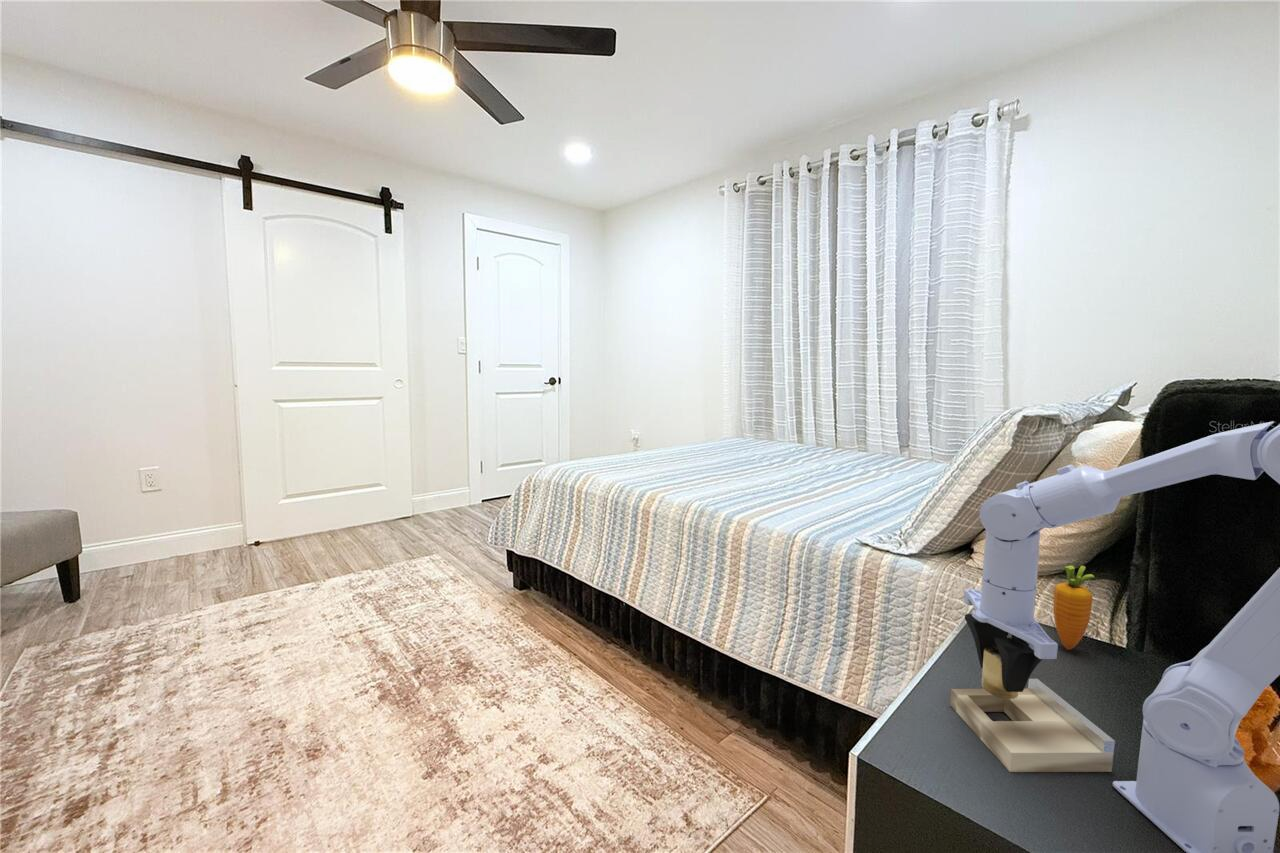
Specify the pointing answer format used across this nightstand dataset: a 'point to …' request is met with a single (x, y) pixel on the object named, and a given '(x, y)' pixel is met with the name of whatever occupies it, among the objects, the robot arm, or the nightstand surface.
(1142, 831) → the nightstand surface
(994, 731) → the jig
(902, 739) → the nightstand surface
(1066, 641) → the carrot
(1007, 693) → the bushing
